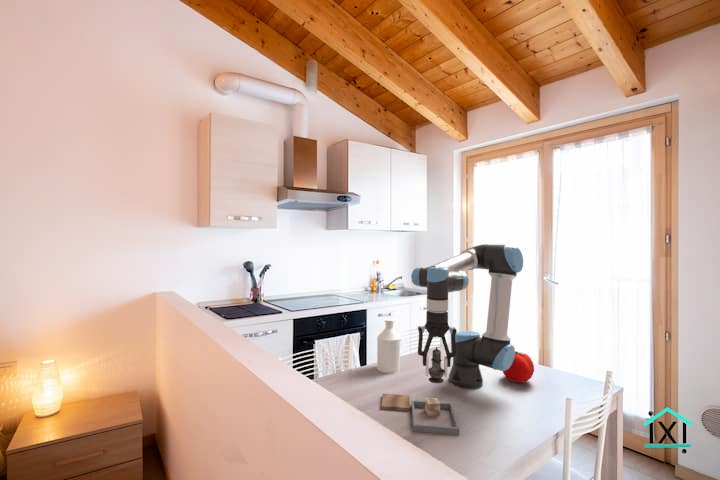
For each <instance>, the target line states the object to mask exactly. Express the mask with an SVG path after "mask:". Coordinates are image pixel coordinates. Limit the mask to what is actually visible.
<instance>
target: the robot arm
mask: <svg viewBox="0 0 720 480" xmlns="http://www.w3.org/2000/svg"><path fill="white" fill-rule="evenodd" d="M523 267H524V257H523V254H522V251H521V249H520V248H519V247H518V246H517V245H512V244H487V243H485V244H479V245H478V244H477V245H475V246H472V247H469V248H467V249H465V250H464V249H463V250H461V252H460V253H459V254H458V255H455V256H453V257H450V258H448V259H445V260H443V261H439V262H437V263H436V264H433V265H430V266H426V267H415V268H414V269H412V272H411V275H410V278H411V283H412V284H413V285H414V286H417V287H420V288H426V321H425V324H424V325H422V326H421V325H419V326H417V330H418V341H417V342H418V345H417V346H418V347H417V355H418V356H421V357H422V366H423V367H425V376H426V377H429V371H428V369H429V363H430V361H429V359H430V358H429V355H428V353H429V350H430V347H431V344H432V341H433V339H434V338H441V341H442V346H443V347H444V348H443V349H444V351H445V355H444V356H443V358H444V359H443V370H444V371H445V372H444V375H443V376H444V378H448V382H449V383H450V384H451V385H453V386H455V387H458V388H462V389H469V390H471V389H473V390H474V389H480V388H481V387H483V382H484V380H483V375H482V372H481V369H480V366H484V367H487V368H490V369H492V370H494V371H496V370H497V371H501V372H503V371H506V370H507V369H509V367H510V366H511V365H512V363H513V360H514V356H515V352H516V349H515V346H514V345H512V343H511V338H510V337H509V336H508V330H509V329H508V328H509V318H510V306H511V298H512V286H513V280H514V279H515V278H516V277H517V274H518V273H520V272H521V271H522V270H523ZM478 269H479V270H481V269H482V270H488V275H489V276H490V277H491V278H490V279H491V281H490V291H489V301H488V310H487V311H488V312H487V321H486V331H485V332H483V333H482V334H480V332H478V331H471V330H470V331H466V330H465V331H458V332H457V329H456V327H454V326H453V327H451V326H449V312H448V311H449V293H454V292H461V291H463V290H465V289H466V288H467V287H468V286H469V284H470V283H469V281H470V280H469V277H468V275H467V273H466V272H465V271H472V270H478ZM425 331H427V333H428V335H427V339H426V342H425V344H424V345H425V346H424V348H423V339H424V338H423V337H424V333H425ZM448 331H449V333H450V347H451V350H450V348H449V346H448V343H447V339H446V336H445V335H446V334H447V332H448ZM450 351H451V352H450ZM451 360H452V366H451ZM450 367H451V369H450V371H449V374H448V368H450Z"/></svg>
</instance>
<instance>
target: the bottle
mask: <svg viewBox="0 0 720 480" xmlns="http://www.w3.org/2000/svg"><path fill="white" fill-rule="evenodd" d="M384 323H385V328H384V329H383V330H382V331H381V332H380V333H379V334H378V335H377V339H376V340H377V341H376V343H377V346H376V347H377V349H376V350H377V352H376V353H377V359H376V361H377V365H376V366H377V367H376V369H377V370H378V371H379V372H380V373H384V374H395V373H398V372H400V371H401V370H400V368H401V348H402V347H401V346H402V345H401V344H402V342H401V341H402V337H401V336H400V335H399V334H398V332H397V331H396V330H395V329H394V324H395V319H393V318H385V319H384Z"/></svg>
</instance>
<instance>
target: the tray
mask: <svg viewBox="0 0 720 480" xmlns="http://www.w3.org/2000/svg"><path fill="white" fill-rule="evenodd" d="M439 402H440V401H439ZM415 408H425V401H424V400H411V415H412V417H411V418H412V419H411V420H412V427H413V428H412V430H413V432H422V433H424V432H425V433H437V434H446V435H447V434H448V435H460V434H461V433H460V432H461V429H460V425H459V422H458V418H457V416H456V412H455V409H454V406H453V402H440V409H443V410H449V411H450V416H451V418H452V421H453V424H454V426H445V425H434V424H433V425H432V424H419V423H418V424H417V422H416V412H415Z"/></svg>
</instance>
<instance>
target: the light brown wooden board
mask: <svg viewBox="0 0 720 480" xmlns="http://www.w3.org/2000/svg"><path fill="white" fill-rule="evenodd" d="M381 410H386V411H387V410H389V411H400V412H401V411H403V412H405V411H406V412H411V401H410V395H409V394H395V393H393V394H392V393H382V399H381Z"/></svg>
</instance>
